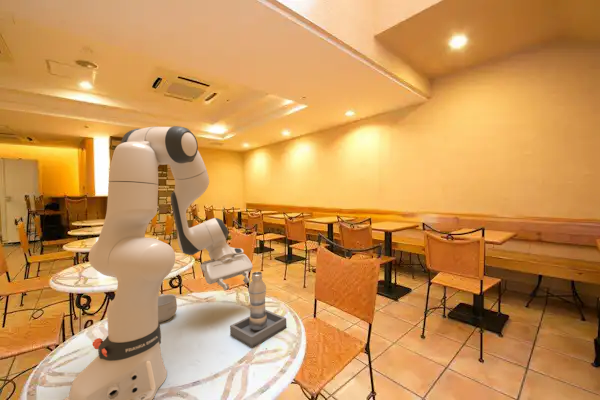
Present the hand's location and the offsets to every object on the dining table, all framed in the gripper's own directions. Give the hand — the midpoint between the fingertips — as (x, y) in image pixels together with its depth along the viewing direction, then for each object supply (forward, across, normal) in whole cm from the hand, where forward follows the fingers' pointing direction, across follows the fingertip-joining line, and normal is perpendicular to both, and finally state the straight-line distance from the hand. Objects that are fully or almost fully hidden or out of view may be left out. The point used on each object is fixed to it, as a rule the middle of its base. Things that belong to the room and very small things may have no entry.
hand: (237, 285), depth 99 cm
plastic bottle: (+18, 0, +1) cm, 18 cm away
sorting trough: (+18, 0, +1) cm, 19 cm away
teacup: (-10, -17, +30) cm, 36 cm away
